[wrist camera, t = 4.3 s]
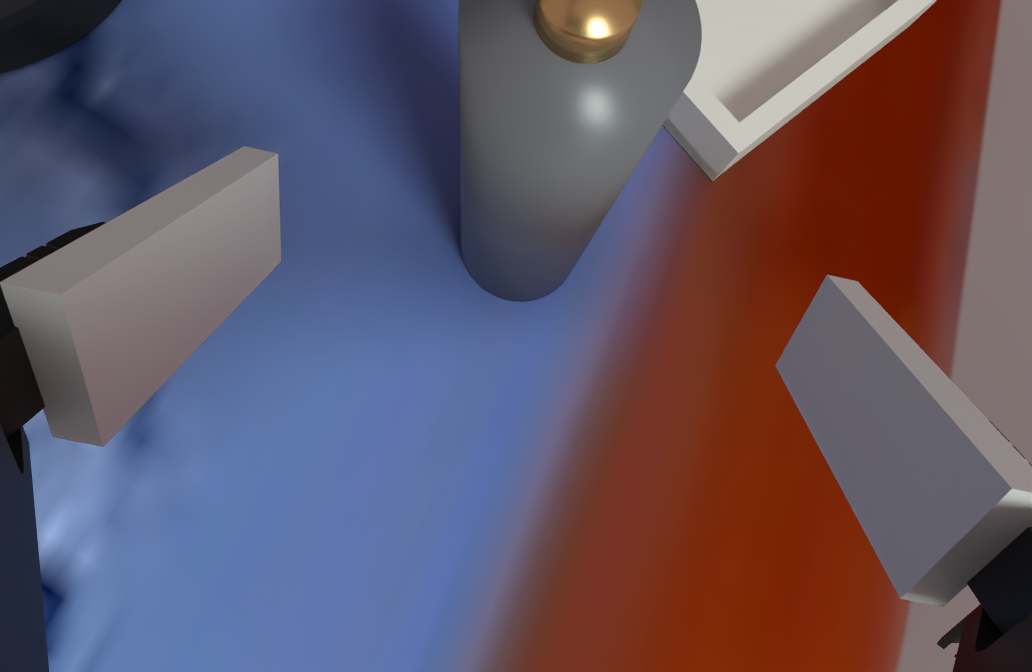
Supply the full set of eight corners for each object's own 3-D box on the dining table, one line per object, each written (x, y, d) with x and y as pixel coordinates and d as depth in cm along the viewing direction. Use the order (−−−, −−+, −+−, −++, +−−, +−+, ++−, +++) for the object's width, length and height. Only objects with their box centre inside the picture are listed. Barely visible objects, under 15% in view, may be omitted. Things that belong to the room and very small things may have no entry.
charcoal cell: (436, 234, 24) (403, -42, 10) (526, 170, 25) (604, -162, 11) (510, 325, 24) (576, 160, 10) (599, 255, 25) (770, 18, 11)
